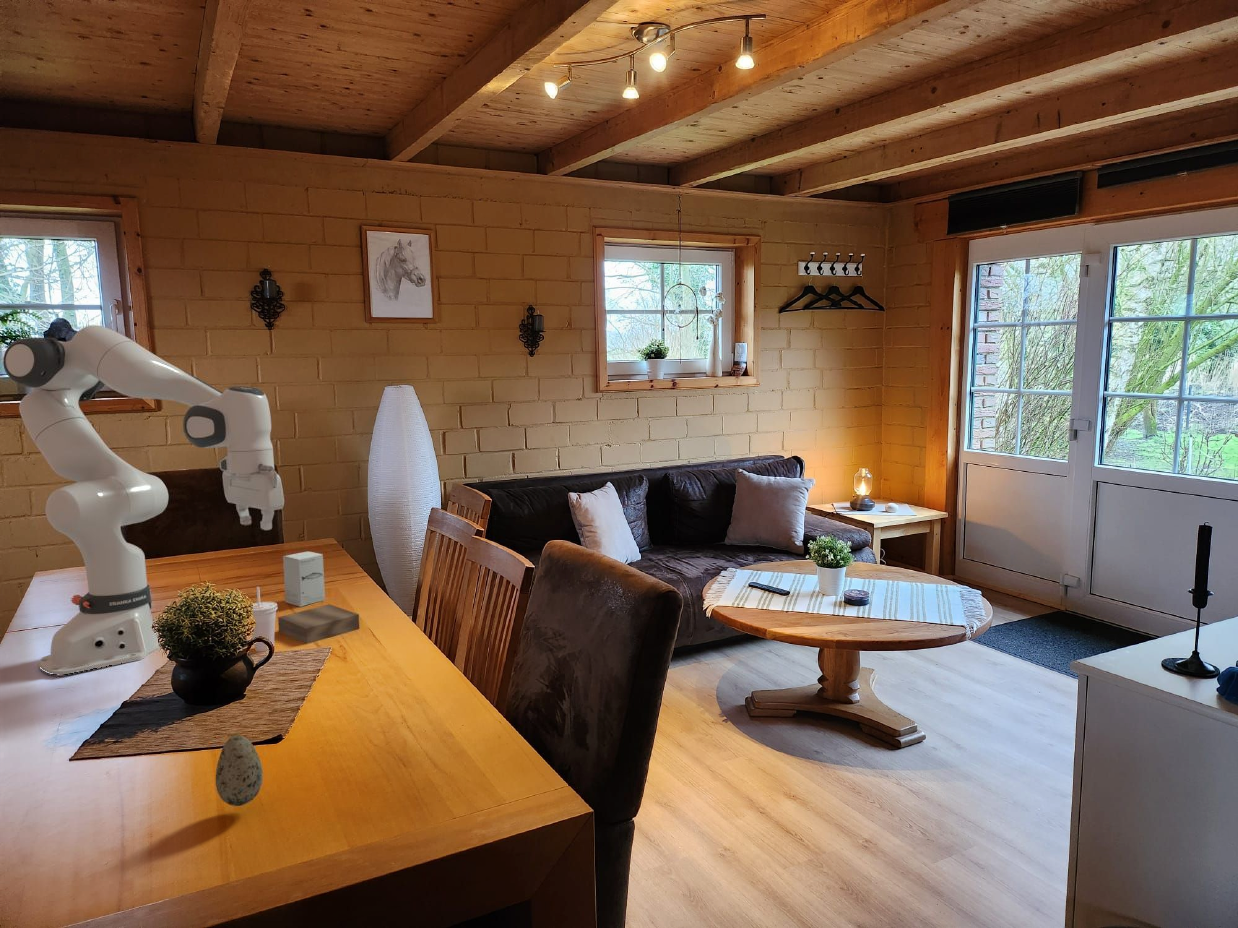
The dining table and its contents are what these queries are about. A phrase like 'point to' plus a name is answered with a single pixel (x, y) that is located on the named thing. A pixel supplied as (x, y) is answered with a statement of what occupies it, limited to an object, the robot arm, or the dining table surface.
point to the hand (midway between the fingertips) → (256, 526)
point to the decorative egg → (238, 772)
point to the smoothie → (264, 621)
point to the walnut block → (318, 623)
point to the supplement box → (304, 578)
